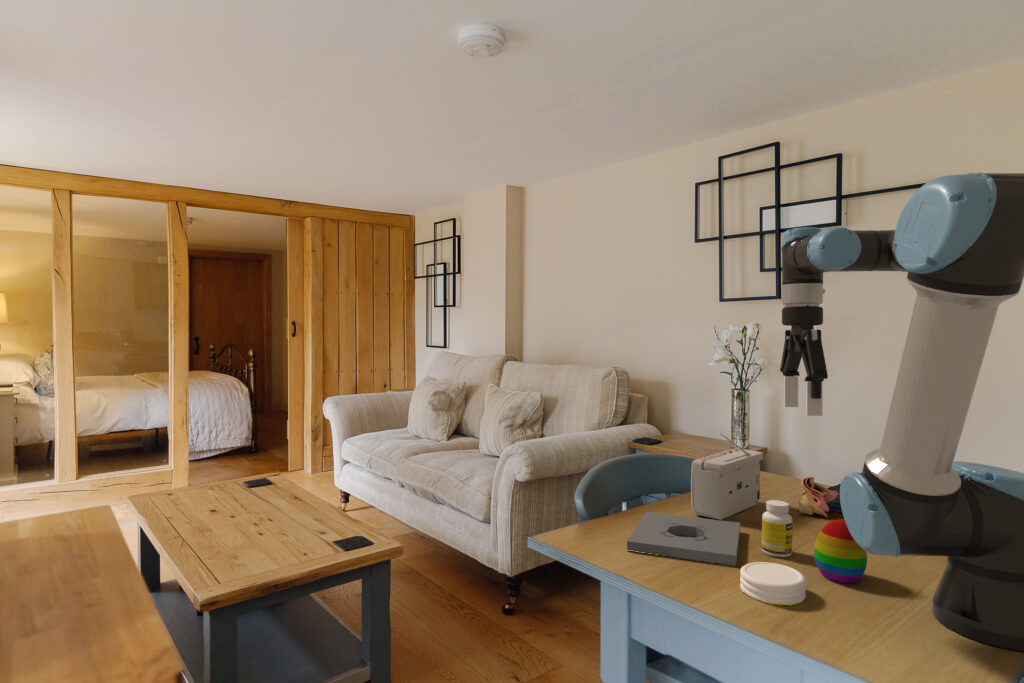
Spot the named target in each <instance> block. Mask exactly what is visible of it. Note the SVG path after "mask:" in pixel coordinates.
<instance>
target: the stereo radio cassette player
mask: <svg viewBox="0 0 1024 683" xmlns="http://www.w3.org/2000/svg"><path fill="white" fill-rule="evenodd" d="M719 435H720V436H722V437H724V438H725V439H726V441H728V442H729V443H730V444H732V445H733V446H734V447H735V448H731V449H728V450H724V451H721V452H718V453H715V454H711V455H707V456H704V457H701V458H697V459H695V460H692V463H691V471H690V472H691V473H690V474H691V475H690V502H691V504H690V505H691V510H692V511H693V512H694V513H695V514H696V515H697V516H699V517H706V518H708V519H713V520H721V521H723V520H724V519H727V518H729V517H732V516H733V515H736V514H737V513H740V512H742V511H745V510H747V509H749V508H752V507H754V506H757V505H759V503H760V499H761V461H763V460H764V453H763V452H761V451H757V450H750V449H745V448H742V447H740V445H738V444H737V443H736V442H734V441H733V440H731V439H730V438H728V437H727V436H725V435H724V434H723V433H722V432H719Z"/></svg>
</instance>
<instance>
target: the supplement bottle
mask: <svg viewBox="0 0 1024 683" xmlns="http://www.w3.org/2000/svg"><path fill="white" fill-rule="evenodd" d="M765 504H766V505H765V508H766V511H764V512H763V513H762V515H761V518H762V519H761V552H763V553H764V554H765V555H766V556H770V557H774V558H775V557H776V558H789V557H791V555H792V553H793V518H792V516H791V515H790V514H789V512H790V511H789V510H790V504H789V503H788V502H786V501H783V500H779V499H777V500H776V499H771V500H767V501H766V502H765Z"/></svg>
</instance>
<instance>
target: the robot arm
mask: <svg viewBox="0 0 1024 683" xmlns="http://www.w3.org/2000/svg"><path fill="white" fill-rule="evenodd" d="M781 244H782V245H781V249H780V250H781V266H782V267H781V270H782V271H781V276H782V277H781V280H782V282H781V304H782V305H783V306H784V307H782V309H781V324H782V325H783V326H791V328H790V329H785V332H784V345H783V350H782V357H781V360H780V361H781V362H780V363H781V364H780V368H779V370H780V373H782V375H783V407H784V408H799V377H801V376H800V372H799V367H800V364H801V360H802V362H803V366H804V369H805V373H806V376H805V377H804V381H803V382H805V416H808V417H811V416H812V417H821V416H823V382H825V381H824V380H826V379H828V378H829V377H828V376H829V374H828V370H827V364H826V359H825V354H824V348H823V341H822V330H821V329H815V328H814V326H822V325H823V323H824V308H823V307H822V306H820V305H822V304H823V303H824V295H825V294H826V289H824V273H829V272H831V273H832V272H833V273H834V272H837V273H839V272H844V273H845V272H902V273H903V272H905V273H907V275H906V281H907V282H908V283H909V285H911V287H912V288H913V290H914V291H915V293H916V297H915V300H914V301H915V302H914V306H913V310H912V314H911V317H910V323H909V326H908V332H907V335H906V340H905V343H904V347H903V351H902V357H901V360H900V364H899V368H898V372H897V377H896V382H895V384H894V385H895V386H894V388H893V389H894V390H893V394H892V398H891V402H890V405H889V411H888V415H887V418H886V423H885V426H884V431H883V435H882V440H881V444H880V447H878V448H875V449H873V450H871V451H869V452H868V453H867V454H866V456H865V460H864V462H863V468H862V471H861V472H858V471H853V472H850V473H849V472H848V474H846V475H844V476H843V477H842V480H841V481H840V484H839V485H840V488H839V502H840V507H841V513H842V516H843V519H844V521H845V523H846V525H847V527H848V530H849V532H850V534H851V535H852V537H853V539H854V540H855V541H856V543H857V544H858V545H859V546H860V547H861V548H862V549H864V550H865V551H866V553H869V554H872V555H879V556H890V557H893V558H898V557H900V556H901V557H902V556H904V557H905V556H906V557H909V556H911V557H913V556H914V557H947V558H946V559H947V560H946V566H945V568H944V570H943V572H942V575H941V577H940V580H939V582H938V583H937V586H936V587H935V591H934V593H933V595H932V605H931V607H932V611H931V612H932V614H933V616H934V618H935V620H937V621H938V622H940V623H941V625H943V626H945V627H947V628H948V629H950V630H951V631H954V632H955V633H957V634H961V635H962V636H964V637H967V638H969V639H972V640H975V641H977V642H981V643H984V644H988V645H990V646H995V647H998V648H1003V649H1008V650H1012V651H1013V650H1014V651H1021V652H1024V472H1020V471H1017V470H1013V469H1009V468H1003V467H1000V466H999V467H998V466H995V465H994V466H993V465H989V464H983V463H982V464H981V463H977V462H971V461H970V462H969V461H960V460H959V461H957V460H955V456H956V454H957V450H958V447H959V444H960V440H961V437H962V434H963V429H964V426H965V422H966V421H967V420H966V419H967V416H968V412H969V409H970V405H971V402H972V398H973V395H974V391H975V388H976V385H977V382H978V378H979V374H980V372H981V368H982V366H983V361H984V357H985V354H986V351H987V347H988V345H989V344H988V343H989V341H990V337H991V333H992V330H993V327H994V323H995V320H996V316H997V313H998V309H999V306H1000V305H1001V304H1002V303H1003V302H1006V301H1008V300H1010V299H1011V298H1013V297H1016V296H1017V295H1019V293H1020V291H1021V287H1022V284H1023V281H1024V173H1023V172H1022V173H1021V172H1020V173H1019V172H1017V173H1015V172H1014V173H1013V172H1012V173H1009V172H1006V173H1005V172H1002V173H1000V172H995V173H994V172H991V173H990V172H989V173H987V172H985V173H983V172H968V173H962V174H960V173H959V174H950V175H943V176H939V177H935V178H933V179H931V180H929V181H928V182H926V183H924V184H923V185H922V186H921V187H920V188H919V189H918V190H917V191H915V192H914V193H912V195H911V196H910V198H909V199H908V201H907V202H906V203H905V205H904V206H903V209H902V210H901V212H900V215H899V217H898V220H897V223H896V226H895V229H890V230H888V229H886V230H883V229H881V230H871V229H869V230H866V229H865V230H859V229H858V230H851V229H850V228H847V227H842V226H837V227H829V228H824V229H821V228H820V227H814V226H805V227H804V226H803V227H796V228H790V229H787V230H786V231H784V233H783V235H782V242H781Z"/></svg>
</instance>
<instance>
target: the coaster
mask: <svg viewBox="0 0 1024 683" xmlns="http://www.w3.org/2000/svg"><path fill="white" fill-rule="evenodd" d="M739 574H740V576H739V577H740V578H739V580H740V583H739V588H740V590H741V591H743V592H744V593H746V594H747V595H749V596H751V597H753V598H756V599H758V600H762V601H765V602H769V603H776V604H796V603H799V604H801V603H802V601H803V600H804V599H805V600H806V598H807V594H806V590H807V587H806V586H807V585H806V583H807V580H806V577H805V576H804V574H802V572H800V571H799V570H797V569H795V568H793V567H791V566H788V565H783V564H781V563H775V562H767V561H755V562H754V561H753V562H749V563H746V564H745V565H743V566H741V568H740V570H739ZM744 593H743V594H744ZM746 594H745V595H746ZM747 595H746V596H747ZM749 596H748V597H749ZM805 600H804V601H805ZM804 601H803V602H804ZM800 602H801V603H800ZM796 605H797V604H796Z"/></svg>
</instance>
